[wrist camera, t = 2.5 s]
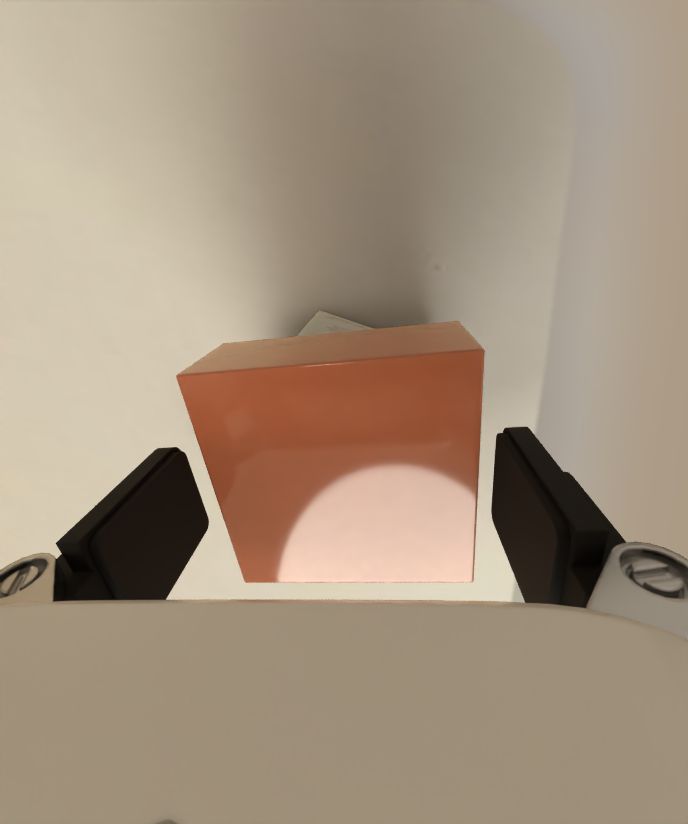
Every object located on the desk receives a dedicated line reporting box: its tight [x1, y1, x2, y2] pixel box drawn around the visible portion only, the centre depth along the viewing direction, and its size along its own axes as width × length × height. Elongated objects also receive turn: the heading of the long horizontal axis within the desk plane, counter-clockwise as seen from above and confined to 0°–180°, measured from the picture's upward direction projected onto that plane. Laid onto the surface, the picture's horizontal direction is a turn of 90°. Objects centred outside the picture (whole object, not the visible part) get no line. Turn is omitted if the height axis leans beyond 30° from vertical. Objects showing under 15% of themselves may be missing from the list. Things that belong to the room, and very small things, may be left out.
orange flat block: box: [176, 321, 485, 583], centre depth 11 cm, size 7×7×3 cm
